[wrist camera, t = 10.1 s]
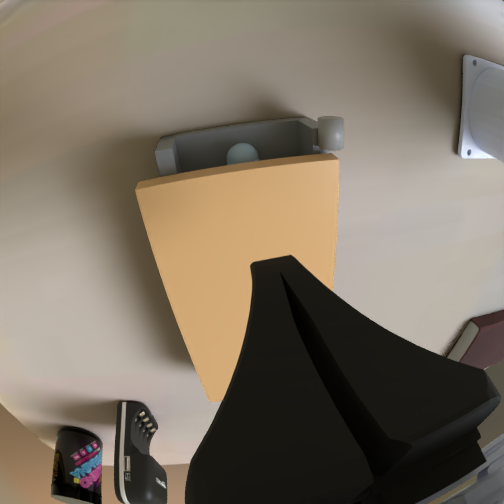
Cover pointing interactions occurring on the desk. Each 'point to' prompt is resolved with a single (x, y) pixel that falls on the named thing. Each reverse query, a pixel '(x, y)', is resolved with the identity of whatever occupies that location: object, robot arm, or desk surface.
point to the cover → (236, 244)
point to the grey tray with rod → (248, 143)
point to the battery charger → (137, 457)
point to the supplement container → (77, 467)
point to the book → (481, 341)
